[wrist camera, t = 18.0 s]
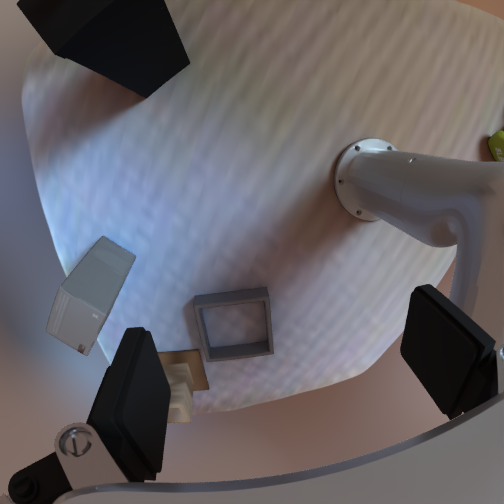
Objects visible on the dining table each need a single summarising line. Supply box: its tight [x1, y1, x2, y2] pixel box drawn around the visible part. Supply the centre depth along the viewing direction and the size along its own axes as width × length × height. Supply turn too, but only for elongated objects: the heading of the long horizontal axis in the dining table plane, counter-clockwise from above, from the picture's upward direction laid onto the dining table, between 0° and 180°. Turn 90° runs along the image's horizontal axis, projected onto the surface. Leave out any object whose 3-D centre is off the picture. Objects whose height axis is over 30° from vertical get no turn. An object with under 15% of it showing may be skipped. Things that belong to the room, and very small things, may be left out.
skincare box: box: [46, 236, 136, 356], centre depth 36 cm, size 8×7×16 cm
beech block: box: [162, 363, 194, 423], centre depth 46 cm, size 5×5×10 cm
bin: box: [193, 287, 274, 362], centre depth 47 cm, size 11×11×3 cm
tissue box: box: [17, 0, 190, 98], centre depth 20 cm, size 8×8×28 cm
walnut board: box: [157, 349, 209, 391], centre depth 51 cm, size 10×10×1 cm
